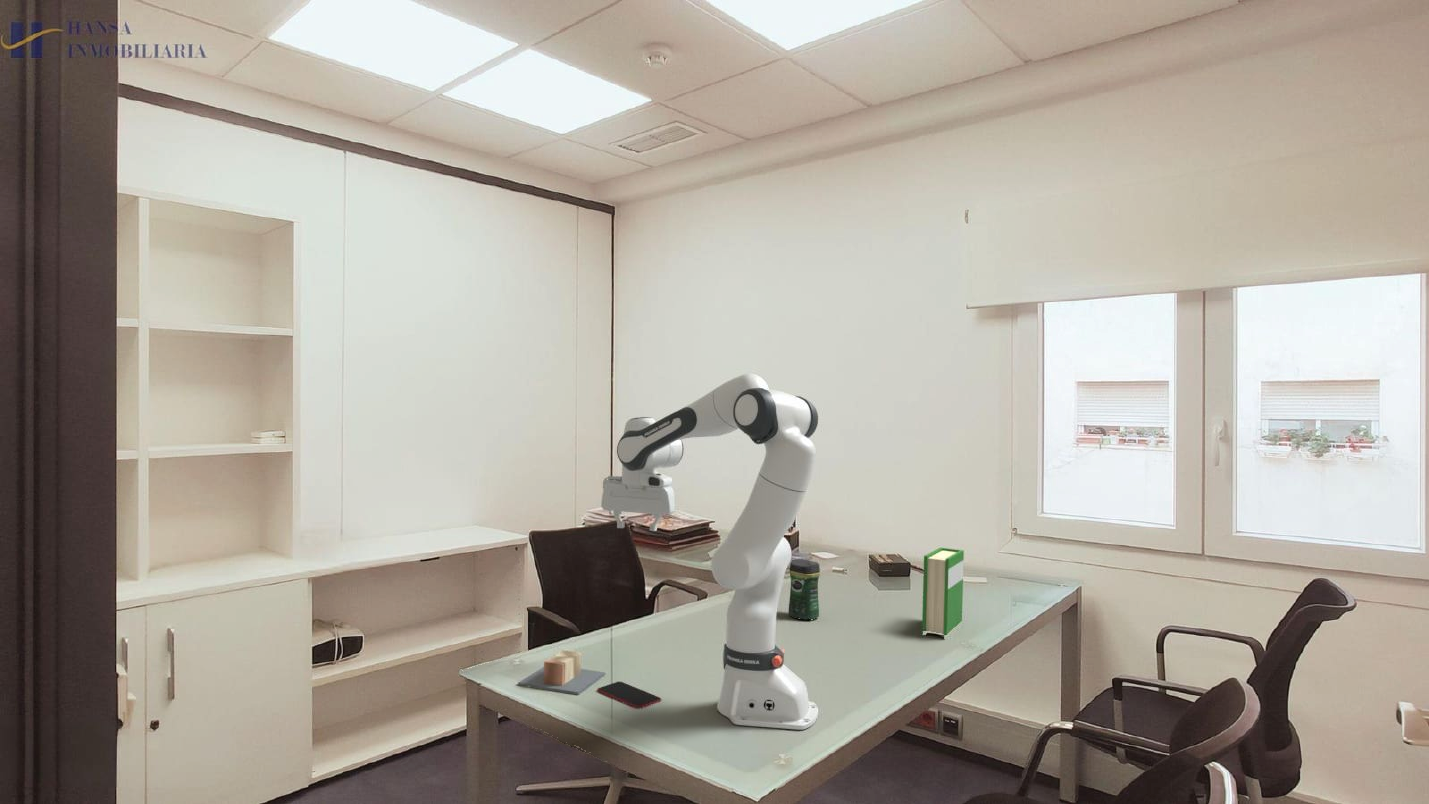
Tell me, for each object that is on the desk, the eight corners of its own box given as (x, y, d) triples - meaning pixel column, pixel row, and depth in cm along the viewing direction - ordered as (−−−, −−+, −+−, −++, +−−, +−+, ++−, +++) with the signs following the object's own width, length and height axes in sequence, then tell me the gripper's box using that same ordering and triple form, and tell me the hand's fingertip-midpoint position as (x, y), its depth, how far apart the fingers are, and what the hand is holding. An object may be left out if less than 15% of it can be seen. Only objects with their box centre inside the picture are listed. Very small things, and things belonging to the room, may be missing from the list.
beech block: (580, 653, 187) (562, 664, 178) (580, 673, 187) (562, 685, 178) (562, 650, 188) (544, 661, 180) (562, 670, 188) (543, 682, 180)
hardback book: (946, 639, 224) (948, 559, 224) (921, 635, 228) (924, 555, 228) (961, 626, 239) (963, 550, 239) (938, 621, 243) (940, 547, 243)
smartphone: (638, 707, 167) (595, 688, 177) (638, 711, 167) (595, 692, 177) (662, 698, 173) (619, 680, 183) (662, 702, 173) (619, 684, 183)
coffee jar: (823, 618, 243) (824, 561, 243) (807, 622, 238) (808, 564, 238) (799, 612, 250) (801, 556, 250) (784, 616, 245) (785, 558, 245)
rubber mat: (605, 674, 188) (605, 672, 188) (578, 694, 174) (578, 692, 174) (548, 666, 193) (548, 663, 193) (517, 685, 179) (518, 682, 179)
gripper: (598, 476, 202) (596, 527, 202) (669, 480, 196) (667, 534, 196) (608, 474, 208) (607, 524, 208) (677, 478, 202) (676, 530, 202)
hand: (636, 529), depth 202 cm, fingers open, 8 cm apart
